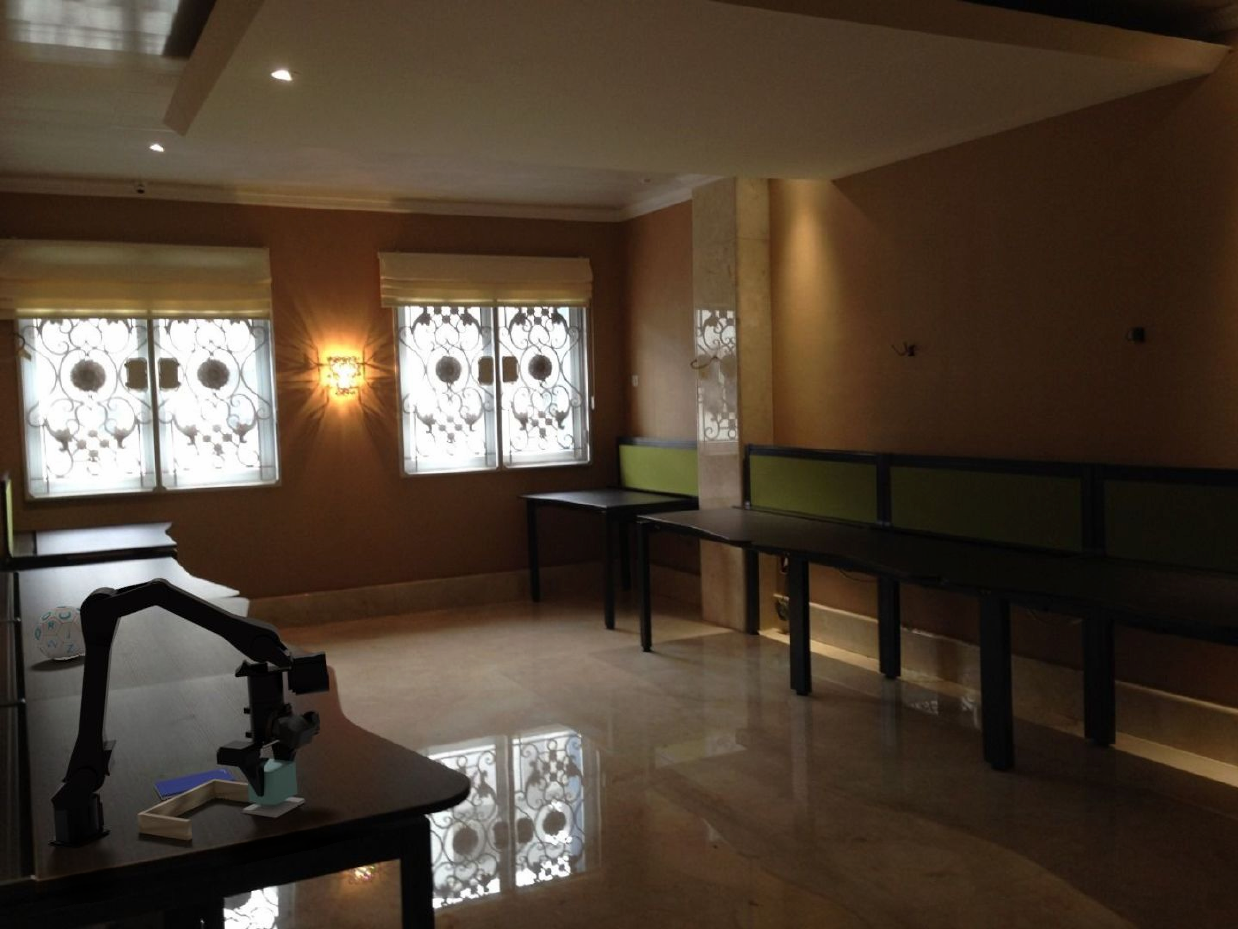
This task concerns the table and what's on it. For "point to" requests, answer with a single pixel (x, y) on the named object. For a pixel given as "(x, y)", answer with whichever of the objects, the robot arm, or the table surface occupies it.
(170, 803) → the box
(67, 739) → the table surface
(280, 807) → the pad
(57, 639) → the puzzle ball
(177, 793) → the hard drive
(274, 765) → the block
